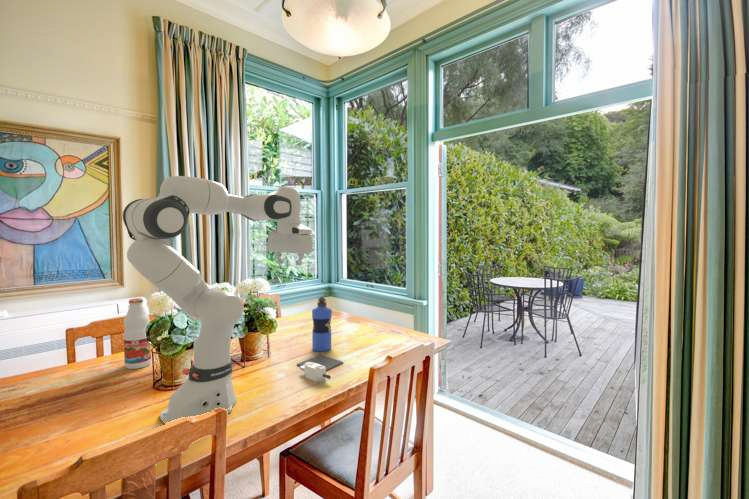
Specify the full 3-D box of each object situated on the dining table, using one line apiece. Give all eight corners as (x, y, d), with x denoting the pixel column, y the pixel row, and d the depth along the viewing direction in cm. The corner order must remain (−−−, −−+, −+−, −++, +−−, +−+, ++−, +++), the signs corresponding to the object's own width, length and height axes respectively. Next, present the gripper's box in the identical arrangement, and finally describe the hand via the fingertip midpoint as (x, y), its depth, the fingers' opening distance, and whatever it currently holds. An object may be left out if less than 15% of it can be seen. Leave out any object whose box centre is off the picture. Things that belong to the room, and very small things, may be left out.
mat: (320, 373, 145) (320, 372, 145) (296, 365, 153) (296, 363, 153) (343, 363, 156) (343, 361, 156) (320, 355, 165) (320, 354, 165)
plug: (333, 381, 138) (333, 369, 138) (325, 385, 135) (325, 372, 135) (305, 371, 147) (305, 359, 147) (298, 374, 144) (298, 362, 144)
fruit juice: (154, 359, 157) (152, 296, 155) (147, 368, 148) (145, 301, 146) (129, 361, 154) (126, 297, 152) (121, 370, 145) (118, 302, 143)
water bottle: (333, 345, 178) (333, 295, 176) (329, 352, 169) (329, 300, 167) (314, 344, 179) (315, 295, 177) (309, 351, 170) (309, 299, 168)
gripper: (263, 228, 142) (263, 263, 143) (304, 229, 132) (304, 267, 133) (274, 228, 147) (275, 261, 149) (314, 229, 138) (314, 265, 139)
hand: (289, 264), depth 141 cm, fingers open, 8 cm apart
